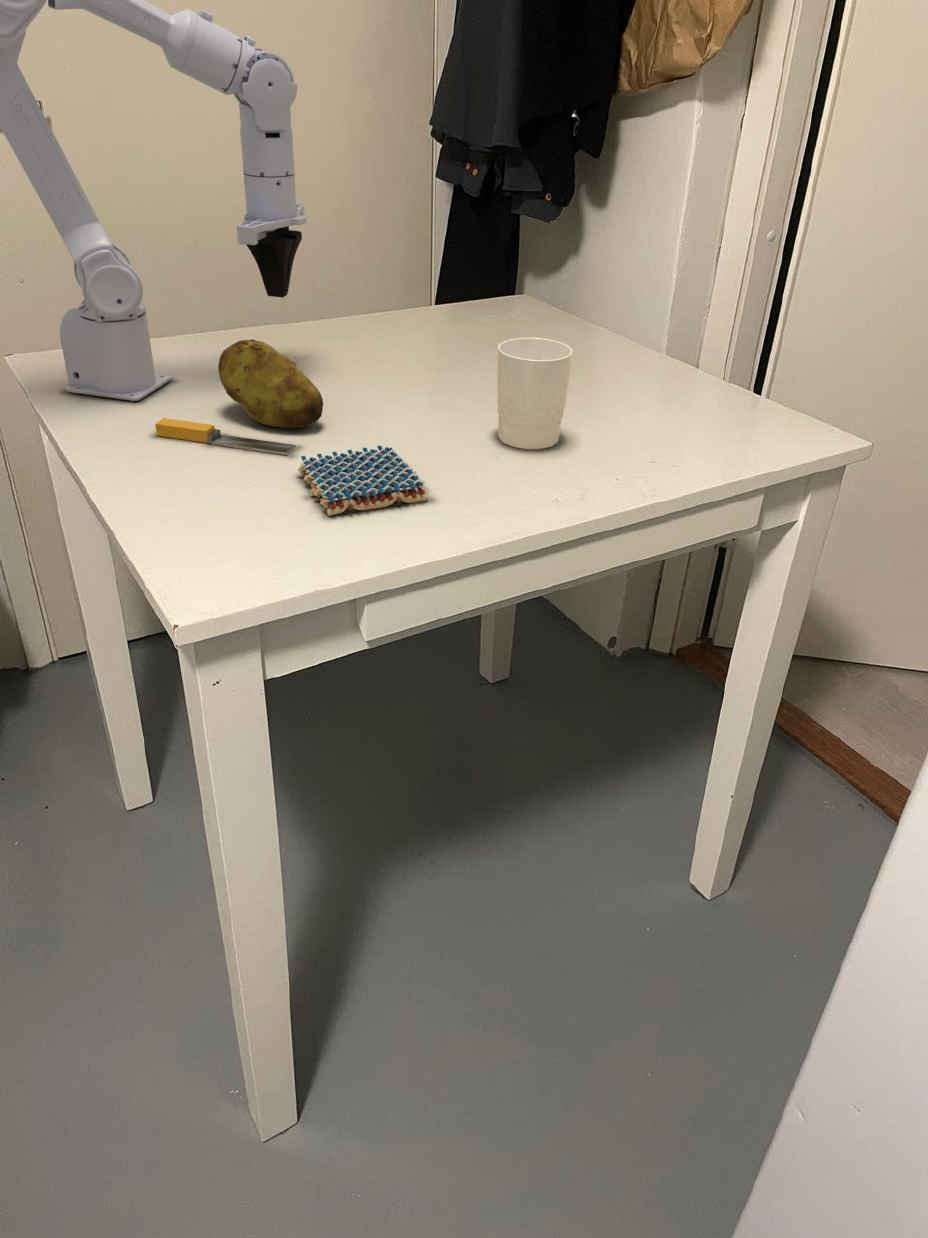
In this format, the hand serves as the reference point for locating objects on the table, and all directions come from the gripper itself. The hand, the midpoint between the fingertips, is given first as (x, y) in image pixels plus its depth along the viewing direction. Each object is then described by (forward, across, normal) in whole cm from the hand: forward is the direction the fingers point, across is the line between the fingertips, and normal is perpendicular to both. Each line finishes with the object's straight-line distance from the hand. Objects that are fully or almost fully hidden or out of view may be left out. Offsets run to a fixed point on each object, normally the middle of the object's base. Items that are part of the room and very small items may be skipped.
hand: (277, 295), depth 117 cm
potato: (+10, -15, -5) cm, 19 cm away
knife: (+9, -23, -4) cm, 25 cm away
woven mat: (+10, -29, -21) cm, 37 cm away
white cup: (+10, -11, -34) cm, 37 cm away
